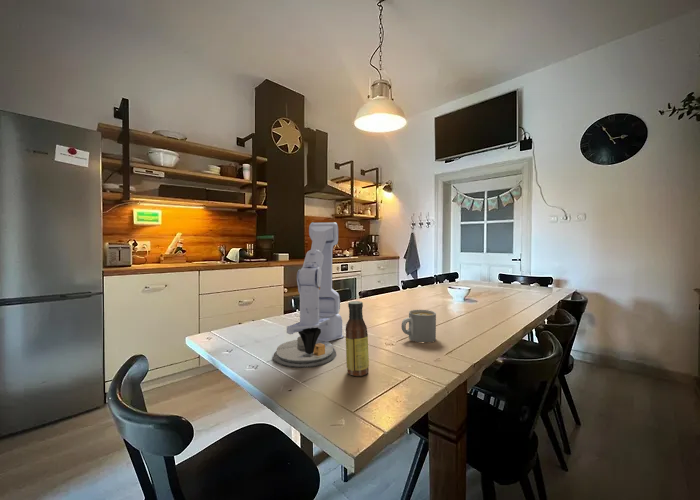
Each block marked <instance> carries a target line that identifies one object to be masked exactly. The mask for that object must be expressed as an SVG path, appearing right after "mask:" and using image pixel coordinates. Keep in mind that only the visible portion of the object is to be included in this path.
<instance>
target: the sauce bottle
mask: <svg viewBox="0 0 700 500" xmlns="http://www.w3.org/2000/svg"><path fill="white" fill-rule="evenodd" d="M347 304H348V305H347V307H348V318H349V319H348V321H347V322H346V324H345V355H346V356H345V358H346V359H345V361H346V369H347V374H348V375H351V376H354V377H362V376H366V375H367V374H368V373H369V368H370V367H369V366H370V361H369V360H370V359H369V337H368V334H369V333H368V326H367V325H366V323H365V321H364V315H363V307H364V305H363V302H362V301H360V300H353V301H352V300H351V301H349V302H348V303H347Z"/></svg>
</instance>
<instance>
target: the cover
mask: <svg viewBox="0 0 700 500" xmlns="http://www.w3.org/2000/svg"><path fill="white" fill-rule="evenodd" d="M296 340H297V349H298V350H301V351H305V347H304V343H303V341H302V338H301V336H300V335H299V336H298V337H297V338H296Z"/></svg>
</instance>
